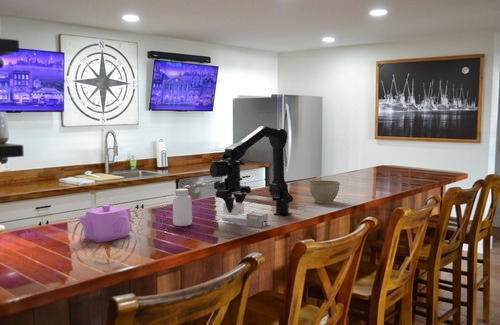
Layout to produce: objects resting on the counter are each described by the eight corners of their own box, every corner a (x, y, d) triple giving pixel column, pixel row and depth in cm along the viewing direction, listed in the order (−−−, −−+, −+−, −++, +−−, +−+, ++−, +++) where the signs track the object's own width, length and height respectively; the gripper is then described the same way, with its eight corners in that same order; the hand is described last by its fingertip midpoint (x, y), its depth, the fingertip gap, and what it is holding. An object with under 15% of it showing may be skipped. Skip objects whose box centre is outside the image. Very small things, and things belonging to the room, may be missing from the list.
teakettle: (132, 231, 196) (131, 200, 195) (126, 241, 179) (125, 208, 178) (88, 232, 194) (87, 201, 193) (79, 243, 177) (77, 210, 176)
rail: (227, 218, 217) (227, 214, 217) (270, 224, 205) (270, 220, 205) (217, 222, 211) (217, 218, 211) (260, 228, 199) (260, 224, 198)
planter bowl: (345, 203, 252) (345, 183, 251) (318, 206, 246) (318, 184, 245) (329, 198, 267) (329, 179, 266) (303, 201, 261) (303, 180, 260)
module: (230, 211, 215) (230, 201, 214) (244, 213, 211) (243, 203, 210) (223, 214, 210) (223, 203, 210) (236, 215, 206) (236, 205, 206)
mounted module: (253, 222, 208) (253, 211, 208) (267, 224, 204) (267, 213, 204) (246, 224, 204) (246, 213, 203) (260, 226, 200) (260, 215, 199)
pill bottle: (174, 227, 202) (173, 191, 201) (172, 222, 210) (171, 188, 208) (193, 225, 204) (192, 190, 203) (190, 221, 212) (189, 187, 210)
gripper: (230, 172, 221) (231, 206, 223) (205, 176, 205) (205, 213, 207) (251, 173, 215) (251, 208, 216) (226, 178, 199) (226, 216, 201)
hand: (233, 211), depth 210 cm, fingers closed on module, 5 cm apart
